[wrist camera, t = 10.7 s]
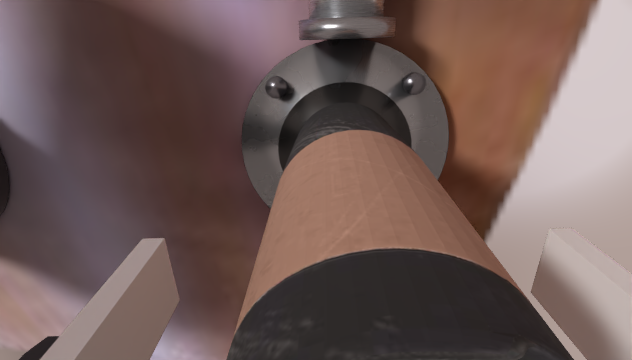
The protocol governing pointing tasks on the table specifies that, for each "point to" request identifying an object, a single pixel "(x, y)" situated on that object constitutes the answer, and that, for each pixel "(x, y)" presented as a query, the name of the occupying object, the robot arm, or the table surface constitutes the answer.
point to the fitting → (341, 90)
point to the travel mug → (377, 261)
